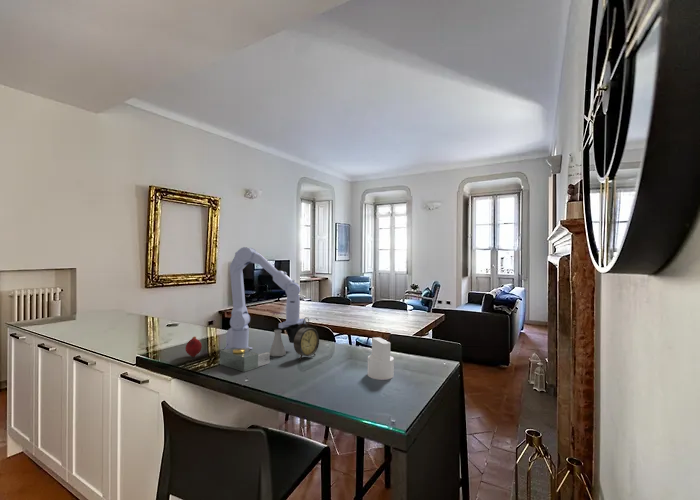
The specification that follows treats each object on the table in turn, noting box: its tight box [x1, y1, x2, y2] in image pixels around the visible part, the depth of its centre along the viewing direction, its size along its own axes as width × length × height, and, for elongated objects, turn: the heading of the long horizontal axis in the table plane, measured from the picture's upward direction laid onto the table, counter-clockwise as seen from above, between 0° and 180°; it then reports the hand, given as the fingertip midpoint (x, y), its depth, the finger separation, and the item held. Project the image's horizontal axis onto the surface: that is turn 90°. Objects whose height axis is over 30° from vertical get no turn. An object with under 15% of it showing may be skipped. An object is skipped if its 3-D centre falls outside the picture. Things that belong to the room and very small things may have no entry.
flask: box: [268, 329, 287, 357], centre depth 140 cm, size 7×7×10 cm
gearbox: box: [219, 346, 271, 373], centre depth 127 cm, size 14×12×6 cm
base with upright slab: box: [367, 336, 395, 381], centre depth 118 cm, size 9×9×12 cm
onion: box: [185, 336, 203, 358], centre depth 134 cm, size 6×6×8 cm
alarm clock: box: [293, 316, 320, 361], centre depth 137 cm, size 11×5×16 cm, turn 143°
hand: (292, 342), depth 147 cm, fingers closed
